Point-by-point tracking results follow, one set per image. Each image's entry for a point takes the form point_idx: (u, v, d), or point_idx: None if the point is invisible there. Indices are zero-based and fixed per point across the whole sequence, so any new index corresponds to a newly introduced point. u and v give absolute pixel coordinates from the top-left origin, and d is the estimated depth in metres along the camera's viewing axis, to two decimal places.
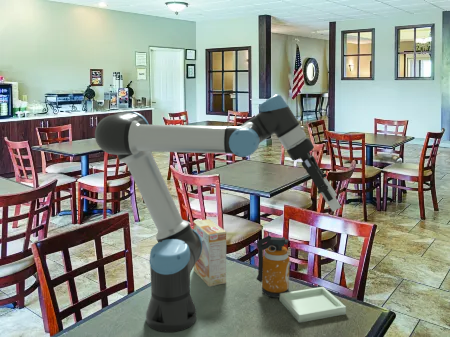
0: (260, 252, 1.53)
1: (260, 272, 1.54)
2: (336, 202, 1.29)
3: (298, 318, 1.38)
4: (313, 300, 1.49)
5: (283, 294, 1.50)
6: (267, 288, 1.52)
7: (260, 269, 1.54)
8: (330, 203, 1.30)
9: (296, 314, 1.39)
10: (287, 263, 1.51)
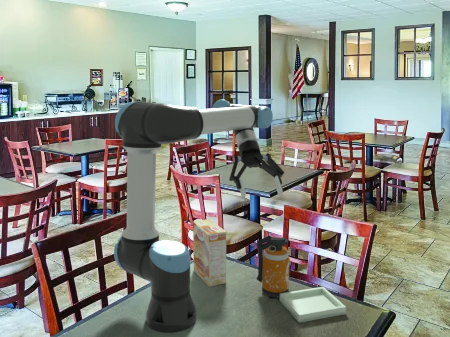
0: (260, 252, 1.53)
1: (260, 272, 1.54)
2: None
3: (298, 318, 1.38)
4: (313, 300, 1.49)
5: (283, 294, 1.50)
6: (267, 288, 1.52)
7: (260, 269, 1.54)
8: None
9: (296, 314, 1.39)
10: (287, 263, 1.51)
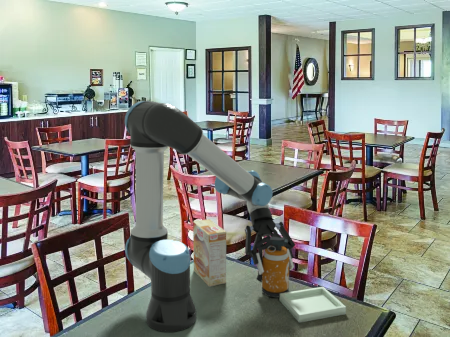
0: (260, 252, 1.53)
1: None
2: None
3: (298, 318, 1.38)
4: (313, 300, 1.49)
5: (283, 294, 1.50)
6: (267, 288, 1.52)
7: None
8: None
9: (296, 314, 1.39)
10: (287, 263, 1.50)
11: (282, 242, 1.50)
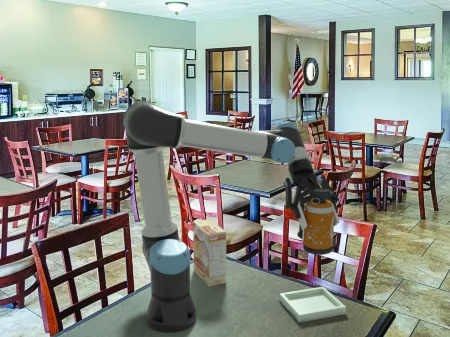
0: (302, 206, 1.39)
1: None
2: None
3: (298, 318, 1.38)
4: (313, 300, 1.49)
5: (283, 294, 1.50)
6: (310, 245, 1.38)
7: None
8: None
9: (296, 314, 1.39)
10: (332, 217, 1.37)
11: (327, 194, 1.37)
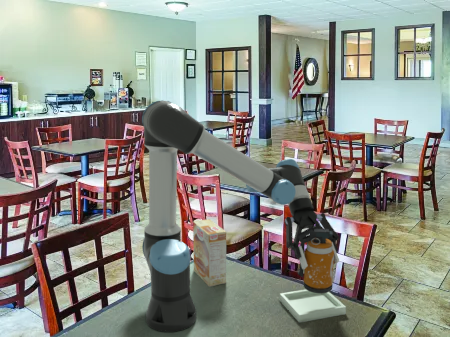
0: (302, 245, 1.42)
1: None
2: None
3: (298, 318, 1.38)
4: (313, 300, 1.49)
5: (283, 294, 1.50)
6: (310, 284, 1.41)
7: None
8: None
9: (296, 314, 1.39)
10: (332, 257, 1.40)
11: (327, 234, 1.39)
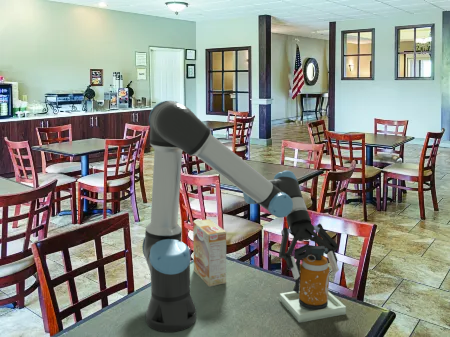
0: (298, 262, 1.43)
1: (297, 283, 1.44)
2: None
3: (298, 318, 1.38)
4: None
5: (283, 294, 1.50)
6: (305, 300, 1.42)
7: (297, 280, 1.44)
8: None
9: (296, 314, 1.39)
10: (327, 274, 1.41)
11: (322, 251, 1.41)
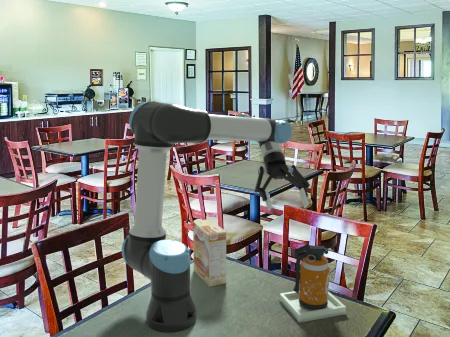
0: (298, 262, 1.43)
1: (297, 283, 1.44)
2: None
3: (298, 318, 1.38)
4: None
5: (283, 294, 1.50)
6: (305, 300, 1.42)
7: (297, 280, 1.44)
8: None
9: (296, 314, 1.39)
10: (327, 274, 1.41)
11: (322, 251, 1.41)
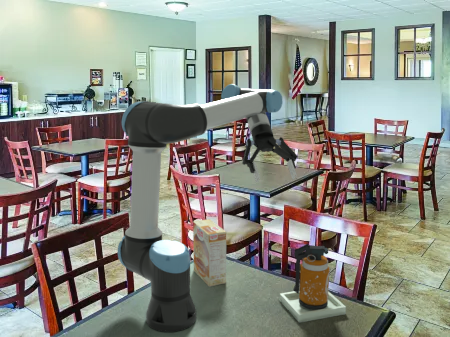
0: (298, 262, 1.43)
1: (297, 283, 1.44)
2: None
3: (298, 318, 1.38)
4: None
5: (283, 294, 1.50)
6: (305, 300, 1.42)
7: (297, 280, 1.44)
8: None
9: (296, 314, 1.39)
10: (327, 274, 1.41)
11: (322, 251, 1.41)
